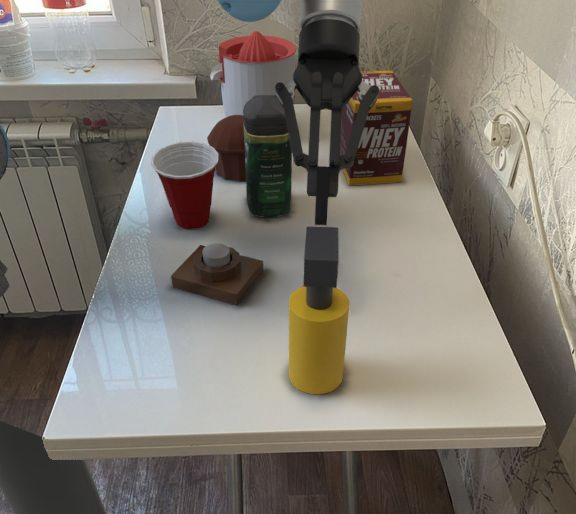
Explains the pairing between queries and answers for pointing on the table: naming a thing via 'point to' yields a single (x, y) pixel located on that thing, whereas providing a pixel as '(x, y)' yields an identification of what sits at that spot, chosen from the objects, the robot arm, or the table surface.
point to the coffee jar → (267, 157)
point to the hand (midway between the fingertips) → (320, 222)
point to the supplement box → (378, 132)
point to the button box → (218, 277)
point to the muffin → (229, 147)
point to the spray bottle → (318, 317)
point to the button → (216, 255)
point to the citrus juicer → (252, 68)
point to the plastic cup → (187, 180)
